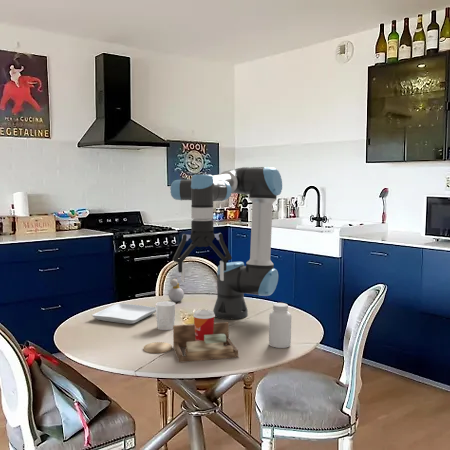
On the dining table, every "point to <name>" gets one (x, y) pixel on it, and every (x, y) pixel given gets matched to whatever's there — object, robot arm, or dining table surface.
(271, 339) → the pill bottle
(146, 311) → the salad plate
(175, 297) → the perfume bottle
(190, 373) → the dining table surface
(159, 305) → the white cup
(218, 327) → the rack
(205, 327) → the paper cup
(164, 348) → the mat
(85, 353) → the dining table surface
